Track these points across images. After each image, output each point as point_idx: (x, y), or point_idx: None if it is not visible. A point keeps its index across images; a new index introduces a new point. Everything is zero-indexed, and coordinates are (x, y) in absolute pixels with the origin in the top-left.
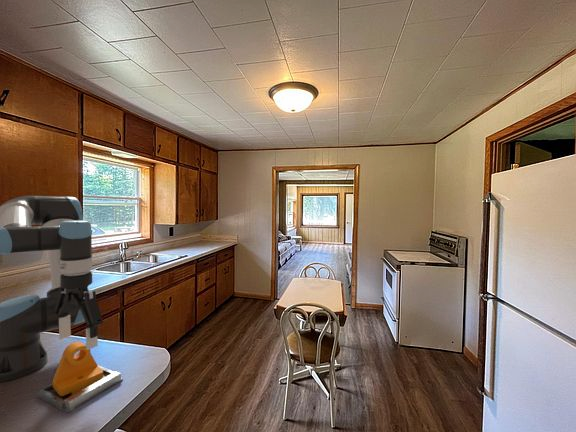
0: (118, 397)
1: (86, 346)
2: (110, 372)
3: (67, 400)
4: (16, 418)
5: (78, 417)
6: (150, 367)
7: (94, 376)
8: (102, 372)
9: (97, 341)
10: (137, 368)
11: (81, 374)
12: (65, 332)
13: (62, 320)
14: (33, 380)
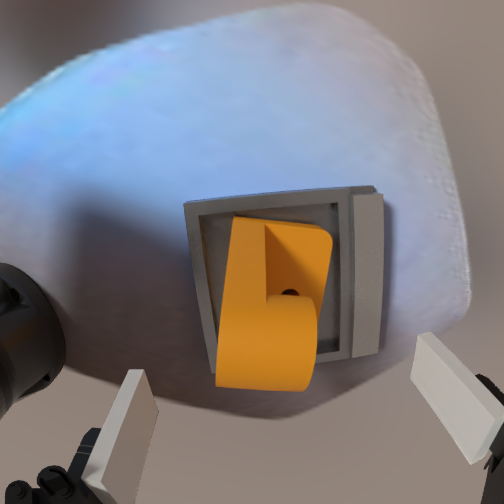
0: (431, 243)
1: (419, 387)
2: (326, 202)
3: (363, 353)
4: (271, 406)
5: (405, 333)
6: (382, 88)
7: (327, 265)
8: (330, 236)
9: (443, 345)
10: (347, 112)
11: (272, 288)
12: (144, 415)
13: (128, 496)
14: (105, 335)
